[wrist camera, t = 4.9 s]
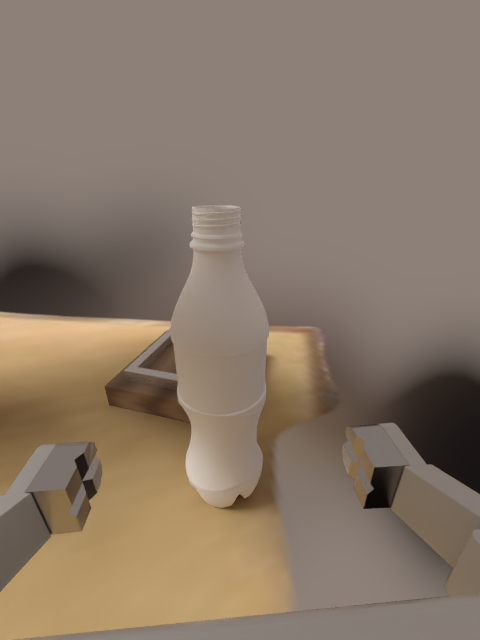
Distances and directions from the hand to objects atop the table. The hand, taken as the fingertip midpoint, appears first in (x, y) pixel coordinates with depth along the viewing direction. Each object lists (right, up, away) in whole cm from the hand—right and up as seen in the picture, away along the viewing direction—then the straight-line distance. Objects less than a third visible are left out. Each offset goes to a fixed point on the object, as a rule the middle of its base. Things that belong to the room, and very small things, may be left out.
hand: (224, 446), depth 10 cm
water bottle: (-1, -12, +19) cm, 22 cm away
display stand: (-7, -5, +34) cm, 35 cm away
